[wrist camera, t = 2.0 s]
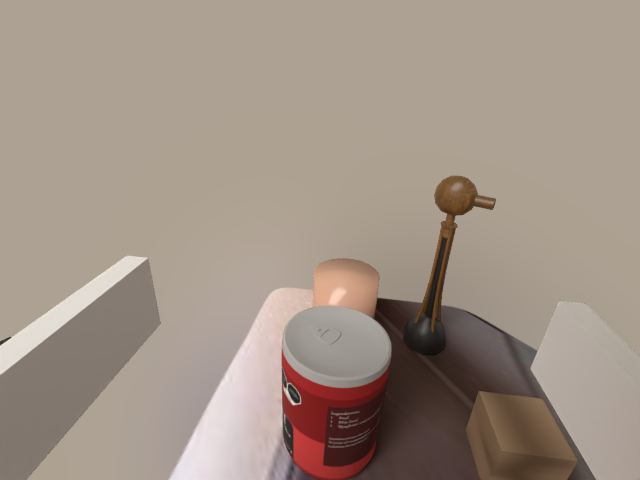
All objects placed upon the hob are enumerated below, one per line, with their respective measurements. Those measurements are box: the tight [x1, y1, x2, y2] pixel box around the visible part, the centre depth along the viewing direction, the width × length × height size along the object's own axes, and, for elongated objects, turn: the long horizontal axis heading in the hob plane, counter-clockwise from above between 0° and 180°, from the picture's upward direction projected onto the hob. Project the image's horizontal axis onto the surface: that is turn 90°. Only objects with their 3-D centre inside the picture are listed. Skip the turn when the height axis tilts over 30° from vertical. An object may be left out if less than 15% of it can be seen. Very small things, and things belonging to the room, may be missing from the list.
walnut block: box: [466, 391, 578, 480], centre depth 26 cm, size 5×5×5 cm
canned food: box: [282, 306, 392, 480], centre depth 26 cm, size 8×8×11 cm
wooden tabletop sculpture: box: [403, 176, 496, 355], centre depth 35 cm, size 6×5×20 cm
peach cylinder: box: [313, 259, 380, 319], centre depth 38 cm, size 7×7×9 cm
